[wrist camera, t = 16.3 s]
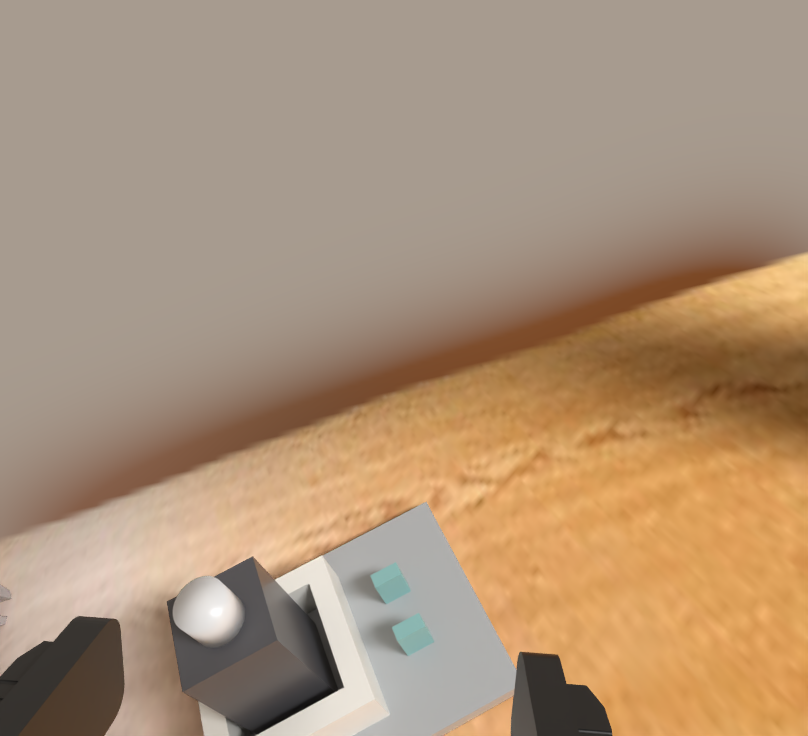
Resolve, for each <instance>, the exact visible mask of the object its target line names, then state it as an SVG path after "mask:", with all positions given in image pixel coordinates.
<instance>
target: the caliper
mask: <svg viewBox="0 0 808 736" xmlns="http://www.w3.org/2000/svg"><path fill="white" fill-rule="evenodd" d="M8 599H11V593H10V591H9V590H8V589H7V588H5V587H3V586H2V585H0V602H2V601H5V600H8ZM6 619H7V616H1V615H0V626H1V625H4V624H6Z"/></svg>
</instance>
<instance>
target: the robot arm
mask: <svg viewBox="0 0 808 736" xmlns="http://www.w3.org/2000/svg"><path fill="white" fill-rule="evenodd" d="M123 693H124V671H123V657H122V643H121V630H120V624H119V622H118V621H117V620H116V619H108V618H96V617H83V616H78V617H76V618H74V619H73V620H72V621H71V622H70V623H69V625H68V626H67V627H66V628H65V629H64V630H63V631H62V632H61V634H60V635H59V636H58V637H57V638H56V639H55V640H54V642H49V641H44V642H42V643H40V644H39V645H37V646H36V647H34V648H33V649H31V650H30V651H28V652H26V653H25V654H23V655H22V656H20V657H19V658H17V659H16V660H15V661H14V662H13V663H12V665H11V666H10V667H9V668H8V669H7V670H6V671H5V672H4V673H3V674H2V675H1V676H0V736H104V735H105V734H106V732H107V731H108V729H109V727H110V726H111V724H112V723H113V721H114V719H115V718H116V716H117V713H118V711H119V709H120V706H121V702H122V698H123ZM511 736H612V729H611V726H610V723H609V720H608V717H607V714H606V711H605V708H604V706H603V705H602V704H601V703H600V701H599V700H598V699H597V698H596V697H595V695H594V694H593V693H592V692H591V691H590V689H589V688H588V687H587V686H585V685H572V684H566V681H565V677H564V673H563V669H562V665H561V662H560V658H559V656H558V655H555V654H542V653H529V652H520V653H519V656H518V662H517V671H516V680H515V689H514V698H513V707H512V717H511Z"/></svg>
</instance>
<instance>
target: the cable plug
mask: <svg viewBox="0 0 808 736" xmlns="http://www.w3.org/2000/svg"><path fill="white" fill-rule="evenodd" d="M167 605H168V611H169V617H170V623H171V628H172V634H173V640H174V646H175V651H176V657H177V663H178V669H179V674H180V680H181V686H182V692H184V693H185V694H187V695H189V696H190V697H192V698H194V699H196V700H197V701H199V702H201V703H203V704H204V705H206V706H208V707H210V708H211V709H213V710H215V711H217V712H218V713H220V714H222V715H224V716H225V717H227V718H229V719H230V720H232V721H234V722H236V723H237V724H239V725H241V726H243V727H244V728H246V729H248V730H250V731H251V732H253V733H255V734H257V735H258V734H260V733H261V732H263V731H265V730H267V729H269V728H271V727H272V726H274V725H276V724H278V723H280V722H282V721H283V720H285V719H287V718H289V717H291V716H293V715H294V714H296V713H298V712H300V711H302V710H304V709H305V708H307V707H309V706H311V705H313V704H315V703H316V702H318V701H320V700H322V699H324V698H326V697H327V696H329V695H331V694H333V693H335V692H337V691H338V687H337V684H336V682H335V679H334V676H333V673H332V670H331V667H330V664H329V661H328V658H327V655H326V653H325V650H324V647H323V644H322V641H321V638H320V635H319V632H318V629H317V627H316V624H315V623H314V621H313V620H312V619H311V618H310V617H309V616H308V615H307V614H306V613H305V612H304V611H303V610H302V609H301V608H300V606H299V605H298V604H297V603H296V602H295V601H294V600H293V599H292V598H291V597H290V596H289V595H288V594H287V593H286V592H285V590H284V589H283V588H282V587H281V586H280V585H279V584H278V583H277V582H276V581H275V580H274V579H273V578H272V577H271V575H270V574H269V573H268V572H267V571H266V570H265V569H264V568H263V567H262V566H261V565H260V564H259V563H258V562H257V560H256V559H255V558H254V557H251V558H249V559H247V560H245V561H243V562H241V563H239V564H237V565H236V566H234V567H232V568H230V569H228V570H226V571H224V572H222V573H220V574H218V575H217V576H215V577H212V576H203V577H199V578H196V579H194V580H192V581H191V582H189V583H188V584H187V585H186V586H185V587H184V588H183V589H182V590H181V591H180V593H179V594H178V596H177V597H175V598H173V599H171V600H169V601H167Z"/></svg>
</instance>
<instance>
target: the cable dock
mask: <svg viewBox="0 0 808 736" xmlns="http://www.w3.org/2000/svg"><path fill="white" fill-rule="evenodd" d="M275 581H276V582H277V583H278V584H279V585H280V586H281V587H282V588H283V589H284V590H285V592H286V593H287V594H288V595H289V596H290V597H291V598H292V599H293V600H294V601H295V602H296V603H297V604H298V605H299V606H300V608H301V609H302V610H303V611H304V612H305V613H306V614H307V615H308V616H309V617H310V618H311V619H312V620H313V621H314V623H315V624H316V627H317V629H318V632H319V635H320V638H321V641H322V644H323V647H324V650H325V653H326V655H327V658H328V661H329V664H330V667H331V670H332V673H333V676H334V679H335V682H336V684H337V687H338V691H337V692H335V693H333V694H331V695H329V696H327V697H326V698H324V699H322V700H320V701H318V702H316V703H315V704H313V705H311V706H309V707H307V708H305V709H304V710H302V711H300V712H298V713H296V714H294V715H293V716H291V717H289V718H287V719H285V720H283V721H282V722H280V723H278V724H276V725H274V726H272V727H271V728H269V729H267V730H265V731H263V732H261V733H260V734H258V735H257V734H255V733H253V732H251V731H250V730H248V729H246V728H244V727H243V726H241V725H239V724H237V723H236V722H234V721H232V720H230V719H229V718H227V717H225V716H224V715H222V714H220V713H218V712H217V711H215V710H213V709H211V708H210V707H208V706H206V705H204V704H203V703H201V702H199V701H198V703H199V709H200V715H201V721H202V726H203V732H204V736H443V735H445V734H447V733H448V732H450V731H452V730H454V729H456V728H457V727H459V726H461V725H463V724H464V723H466V722H468V721H470V720H472V719H473V718H475V717H477V716H479V715H480V714H482V713H484V712H486V711H487V710H489V709H491V708H493V707H495V706H496V705H498V704H500V703H502V702H503V701H505V700H507V699H509V698H511V697H512V696H514V689H515V680H516V671H517V670H516V668H515V666H514V665H513V663H512V661H511V659H510V657H509V655H508V653H507V652H506V650H505V648H504V646H503V644H502V642H501V640H500V639H499V637H498V635H497V633H496V631H495V629H494V627H493V625H492V624H491V622H490V620H489V618H488V616H487V614H486V612H485V611H484V609H483V607H482V605H481V603H480V601H479V599H478V597H477V596H476V594H475V592H474V590H473V588H472V586H471V584H470V583H469V581H468V579H467V577H466V575H465V573H464V571H463V570H462V568H461V566H460V564H459V562H458V560H457V558H456V556H455V555H454V553H453V551H452V549H451V547H450V545H449V543H448V542H447V540H446V538H445V536H444V534H443V532H442V530H441V528H440V527H439V525H438V523H437V521H436V519H435V517H434V515H433V514H432V512H431V510H430V508H429V506H428V504H427V502H425V503H423V504H421V505H419V506H417V507H415V508H413V509H411V510H410V511H408V512H406V513H404V514H402V515H400V516H398V517H396V518H394V519H392V520H390V521H388V522H386V523H384V524H383V525H381V526H379V527H377V528H375V529H373V530H371V531H369V532H367V533H365V534H363V535H361V536H359V537H357V538H356V539H354V540H352V541H350V542H348V543H346V544H344V545H342V546H340V547H338V548H336V549H334V550H332V551H330V552H329V553H327V554H325V555H323V556H320V557H318V558H316V559H314V560H312V561H310V562H308V563H306V564H304V565H302V566H300V567H298V568H296V569H295V570H293V571H291V572H289V573H287V574H285V575H283V576H281V577H279V578H277V579H275Z"/></svg>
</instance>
